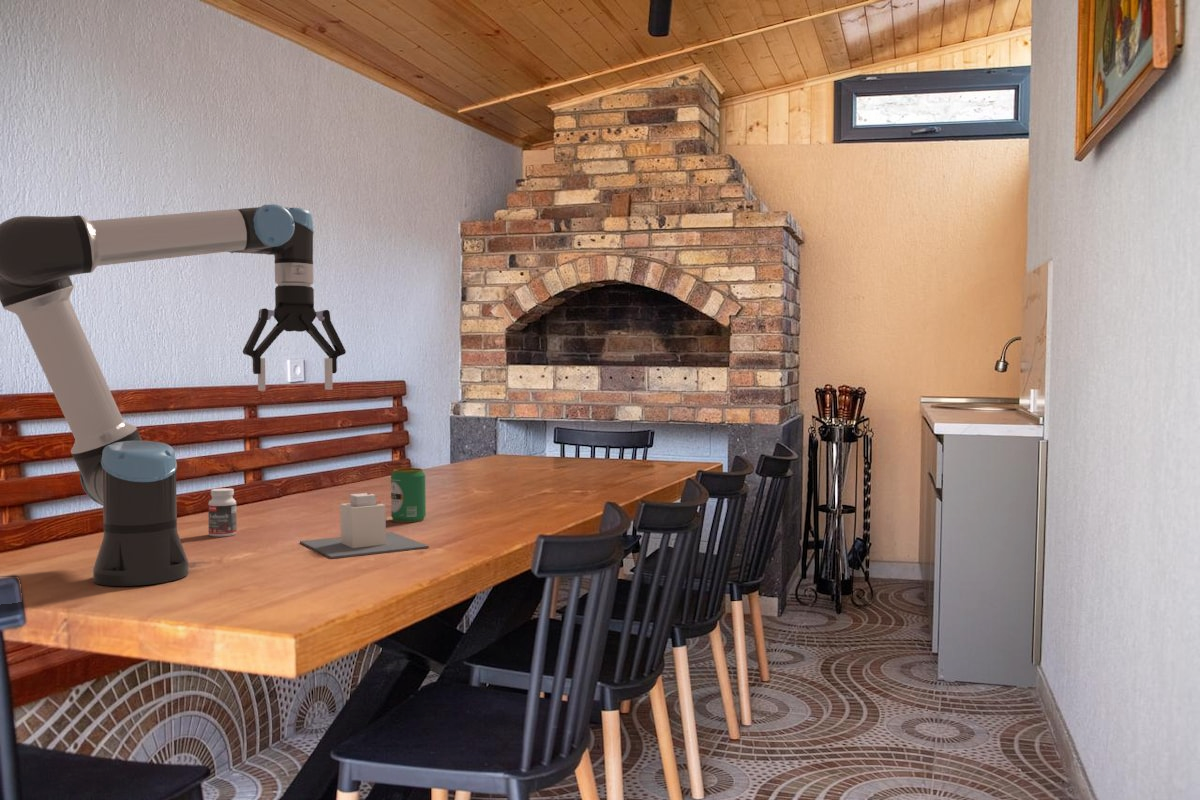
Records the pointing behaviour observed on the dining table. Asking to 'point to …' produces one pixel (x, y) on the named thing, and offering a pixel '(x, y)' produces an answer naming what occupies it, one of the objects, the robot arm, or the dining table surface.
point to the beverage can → (408, 495)
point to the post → (340, 550)
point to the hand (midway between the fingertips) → (295, 390)
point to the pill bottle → (222, 513)
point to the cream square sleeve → (363, 525)
